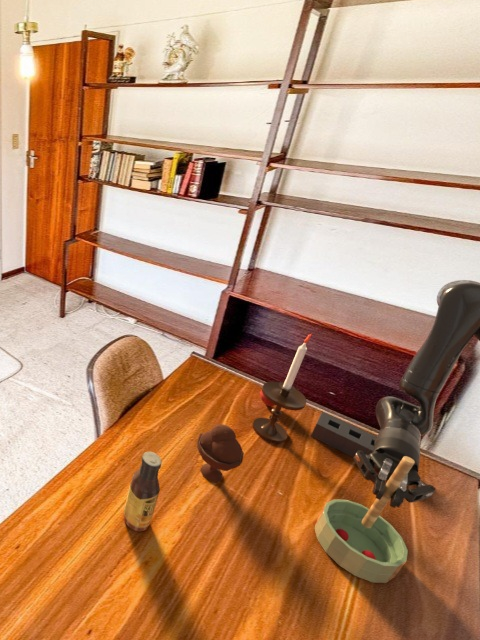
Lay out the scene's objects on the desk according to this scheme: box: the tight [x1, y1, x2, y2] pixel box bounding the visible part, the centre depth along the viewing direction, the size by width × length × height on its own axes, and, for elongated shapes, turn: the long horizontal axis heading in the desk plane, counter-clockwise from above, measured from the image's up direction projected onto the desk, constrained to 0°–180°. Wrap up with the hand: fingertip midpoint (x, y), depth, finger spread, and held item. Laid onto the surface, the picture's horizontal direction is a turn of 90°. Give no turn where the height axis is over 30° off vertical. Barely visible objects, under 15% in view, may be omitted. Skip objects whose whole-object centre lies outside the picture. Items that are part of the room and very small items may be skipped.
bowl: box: [314, 498, 409, 584], centre depth 87 cm, size 14×14×6 cm
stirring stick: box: [361, 456, 415, 528], centre depth 81 cm, size 2×2×20 cm
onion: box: [259, 389, 276, 407], centre depth 128 cm, size 6×6×8 cm
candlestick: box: [251, 333, 313, 444], centre depth 111 cm, size 11×11×35 cm
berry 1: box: [336, 529, 349, 541], centre depth 89 cm, size 2×2×2 cm
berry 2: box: [362, 550, 376, 560], centre depth 85 cm, size 2×2×2 cm
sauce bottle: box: [123, 451, 163, 533], centre depth 88 cm, size 6×6×20 cm
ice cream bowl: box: [196, 424, 245, 483], centre depth 102 cm, size 11×11×15 cm
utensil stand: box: [310, 411, 378, 458], centre depth 114 cm, size 17×7×5 cm, turn 44°
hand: (387, 500), depth 78 cm, fingers closed on stirring stick, 1 cm apart
